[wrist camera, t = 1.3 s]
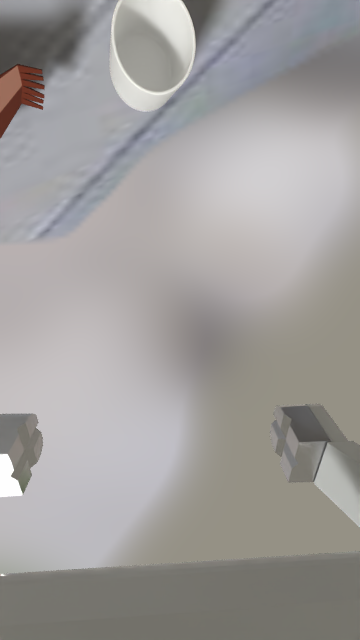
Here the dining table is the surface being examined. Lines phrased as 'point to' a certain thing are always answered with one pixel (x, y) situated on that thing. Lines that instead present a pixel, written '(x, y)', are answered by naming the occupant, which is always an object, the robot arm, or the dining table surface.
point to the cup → (150, 51)
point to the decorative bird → (18, 92)
